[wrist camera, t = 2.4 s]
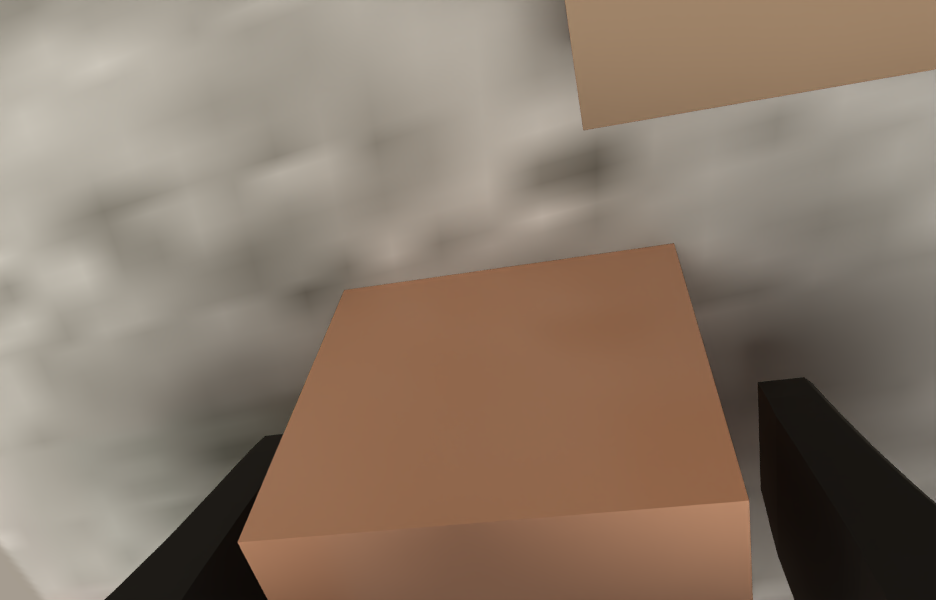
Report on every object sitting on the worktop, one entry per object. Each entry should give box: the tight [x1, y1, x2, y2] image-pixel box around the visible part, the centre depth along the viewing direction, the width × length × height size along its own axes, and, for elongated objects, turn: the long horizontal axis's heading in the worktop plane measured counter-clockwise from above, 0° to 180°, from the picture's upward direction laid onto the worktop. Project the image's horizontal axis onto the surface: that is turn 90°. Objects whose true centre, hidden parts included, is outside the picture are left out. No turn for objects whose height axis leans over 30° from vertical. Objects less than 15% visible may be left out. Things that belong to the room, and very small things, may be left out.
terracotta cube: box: [238, 243, 753, 600], centre depth 11 cm, size 5×5×5 cm
